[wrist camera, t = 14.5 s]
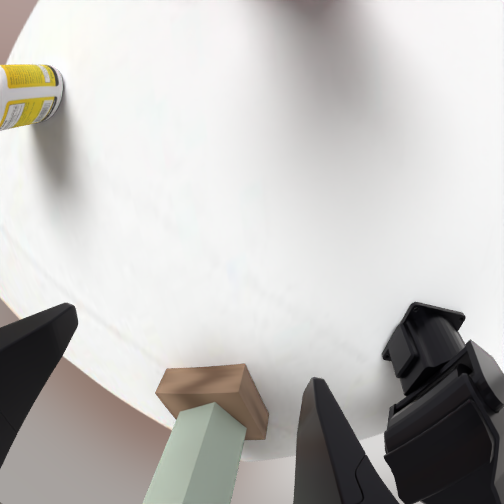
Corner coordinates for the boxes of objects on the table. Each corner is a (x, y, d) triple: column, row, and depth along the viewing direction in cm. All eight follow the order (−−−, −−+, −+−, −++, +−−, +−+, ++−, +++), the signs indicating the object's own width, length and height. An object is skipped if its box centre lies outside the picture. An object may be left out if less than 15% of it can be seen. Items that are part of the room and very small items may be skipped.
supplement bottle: (32, 68, 17) (-51, 73, 8) (69, 62, 17) (-22, 60, 8) (25, 122, 20) (-56, 142, 11) (60, 123, 19) (-31, 143, 11)
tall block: (215, 401, 25) (179, 512, 14) (246, 428, 26) (223, 531, 16) (179, 411, 27) (141, 507, 16) (211, 435, 28) (183, 527, 17)
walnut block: (245, 360, 28) (238, 392, 24) (269, 411, 31) (265, 439, 27) (167, 366, 30) (154, 393, 26) (200, 413, 33) (192, 438, 30)
